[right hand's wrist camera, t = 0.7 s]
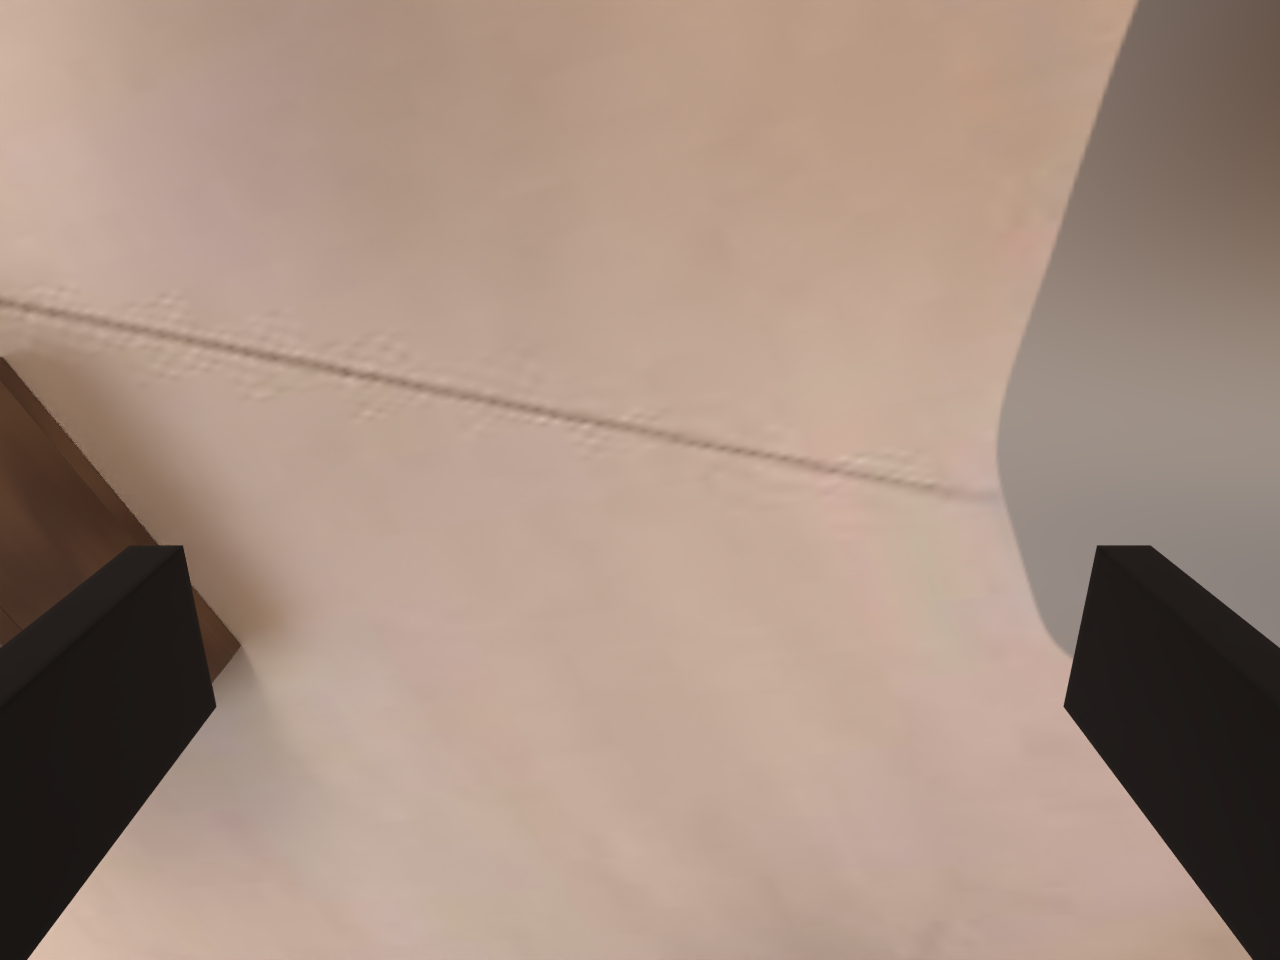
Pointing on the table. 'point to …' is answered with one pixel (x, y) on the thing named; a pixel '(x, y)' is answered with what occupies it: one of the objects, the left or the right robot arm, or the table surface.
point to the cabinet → (62, 521)
